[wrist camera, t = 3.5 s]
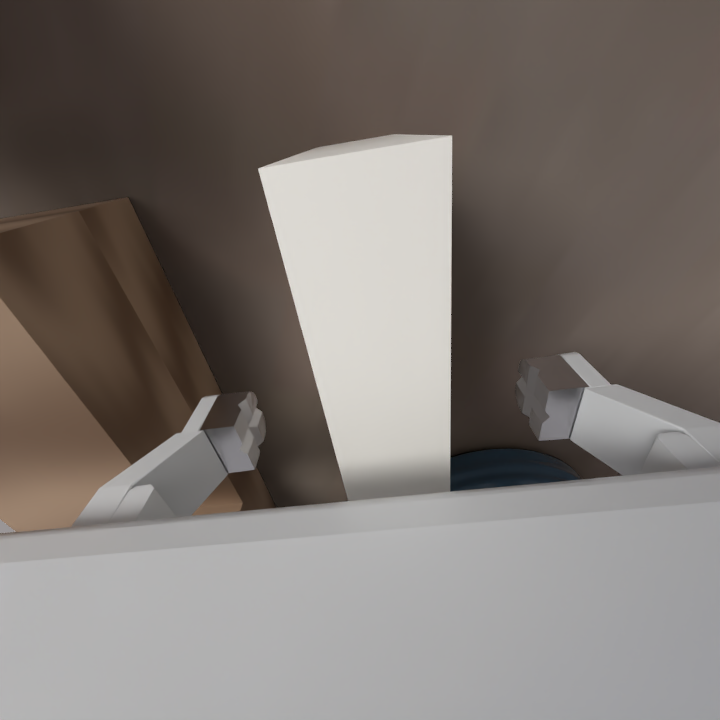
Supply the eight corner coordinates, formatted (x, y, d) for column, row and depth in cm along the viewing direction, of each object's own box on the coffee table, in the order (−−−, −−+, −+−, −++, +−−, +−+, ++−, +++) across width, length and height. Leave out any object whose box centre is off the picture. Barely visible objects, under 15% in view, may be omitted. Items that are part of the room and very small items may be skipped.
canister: (371, 454, 19) (417, 1510, 4) (611, 429, 18) (1666, 1659, 4) (391, 566, 26) (435, 1114, 12) (564, 553, 25) (850, 1130, 11)
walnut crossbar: (-30, 223, 12) (-299, 286, 7) (128, 197, 12) (-42, 244, 7) (218, 559, 25) (185, 663, 20) (297, 552, 25) (282, 657, 20)
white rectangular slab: (317, 147, 11) (257, 168, 4) (393, 134, 11) (452, 135, 4) (368, 430, 18) (375, 601, 12) (415, 425, 18) (449, 595, 11)
